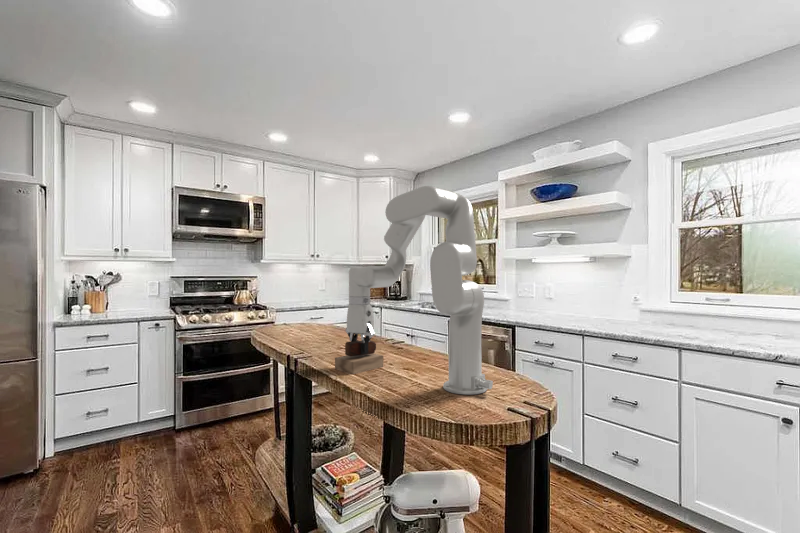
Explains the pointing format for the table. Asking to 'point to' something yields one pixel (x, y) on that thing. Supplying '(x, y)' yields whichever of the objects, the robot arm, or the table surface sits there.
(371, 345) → the brick
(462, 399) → the table surface
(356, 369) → the base block
